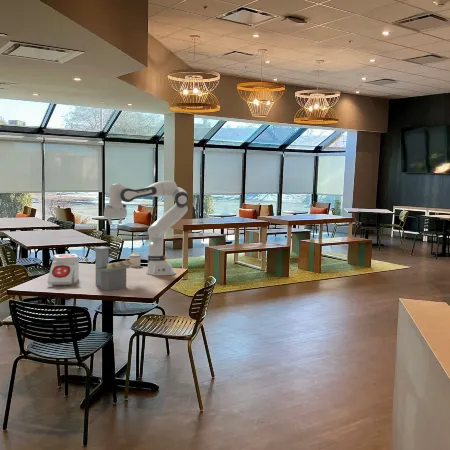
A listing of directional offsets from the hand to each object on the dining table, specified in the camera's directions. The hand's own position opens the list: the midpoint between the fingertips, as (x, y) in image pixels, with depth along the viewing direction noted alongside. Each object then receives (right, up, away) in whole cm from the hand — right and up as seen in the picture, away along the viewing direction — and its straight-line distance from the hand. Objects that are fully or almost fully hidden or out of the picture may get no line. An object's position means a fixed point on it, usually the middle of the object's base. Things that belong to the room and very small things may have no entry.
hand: (115, 224), depth 371 cm
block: (+11, -29, -33) cm, 45 cm away
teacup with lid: (+5, -35, +47) cm, 59 cm away
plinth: (-3, -42, -28) cm, 50 cm away
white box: (-30, -41, -23) cm, 56 cm away
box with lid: (+7, -43, -37) cm, 57 cm away
